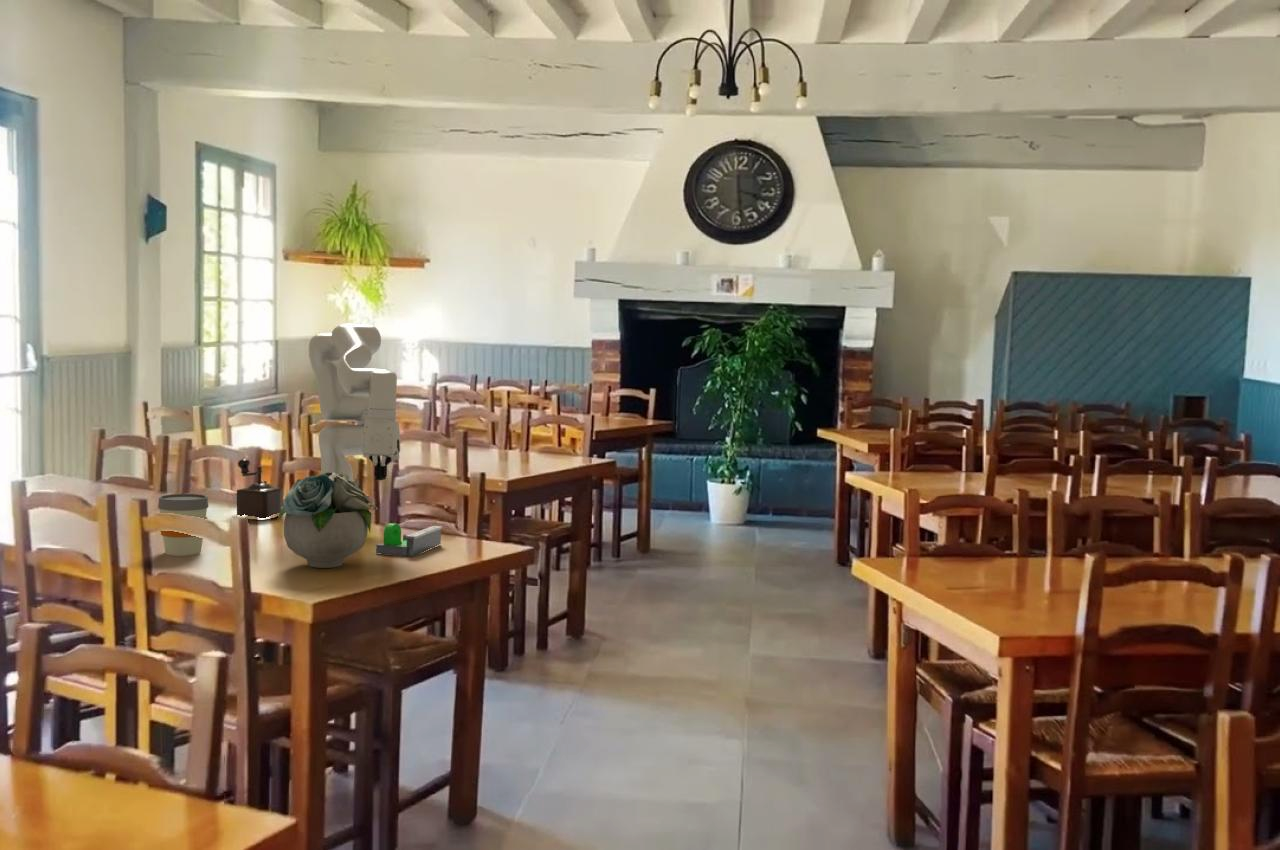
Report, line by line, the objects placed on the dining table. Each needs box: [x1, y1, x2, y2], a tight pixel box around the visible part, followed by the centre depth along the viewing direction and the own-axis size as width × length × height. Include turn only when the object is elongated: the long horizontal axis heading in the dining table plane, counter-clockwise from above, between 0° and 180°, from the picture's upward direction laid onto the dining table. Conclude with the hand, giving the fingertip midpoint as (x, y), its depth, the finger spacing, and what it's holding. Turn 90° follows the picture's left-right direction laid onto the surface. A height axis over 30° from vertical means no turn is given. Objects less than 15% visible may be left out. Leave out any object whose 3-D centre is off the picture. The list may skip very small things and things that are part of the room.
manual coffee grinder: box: [236, 458, 283, 518], centre depth 371 cm, size 16×11×18 cm
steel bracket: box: [375, 525, 443, 558], centre depth 327 cm, size 11×19×6 cm, turn 166°
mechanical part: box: [382, 522, 407, 546], centre depth 325 cm, size 12×6×8 cm, turn 157°
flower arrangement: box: [276, 473, 379, 569], centre depth 300 cm, size 25×25×24 cm
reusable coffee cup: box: [157, 493, 209, 557], centre depth 310 cm, size 13×13×15 cm
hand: (380, 479), depth 328 cm, fingers closed
